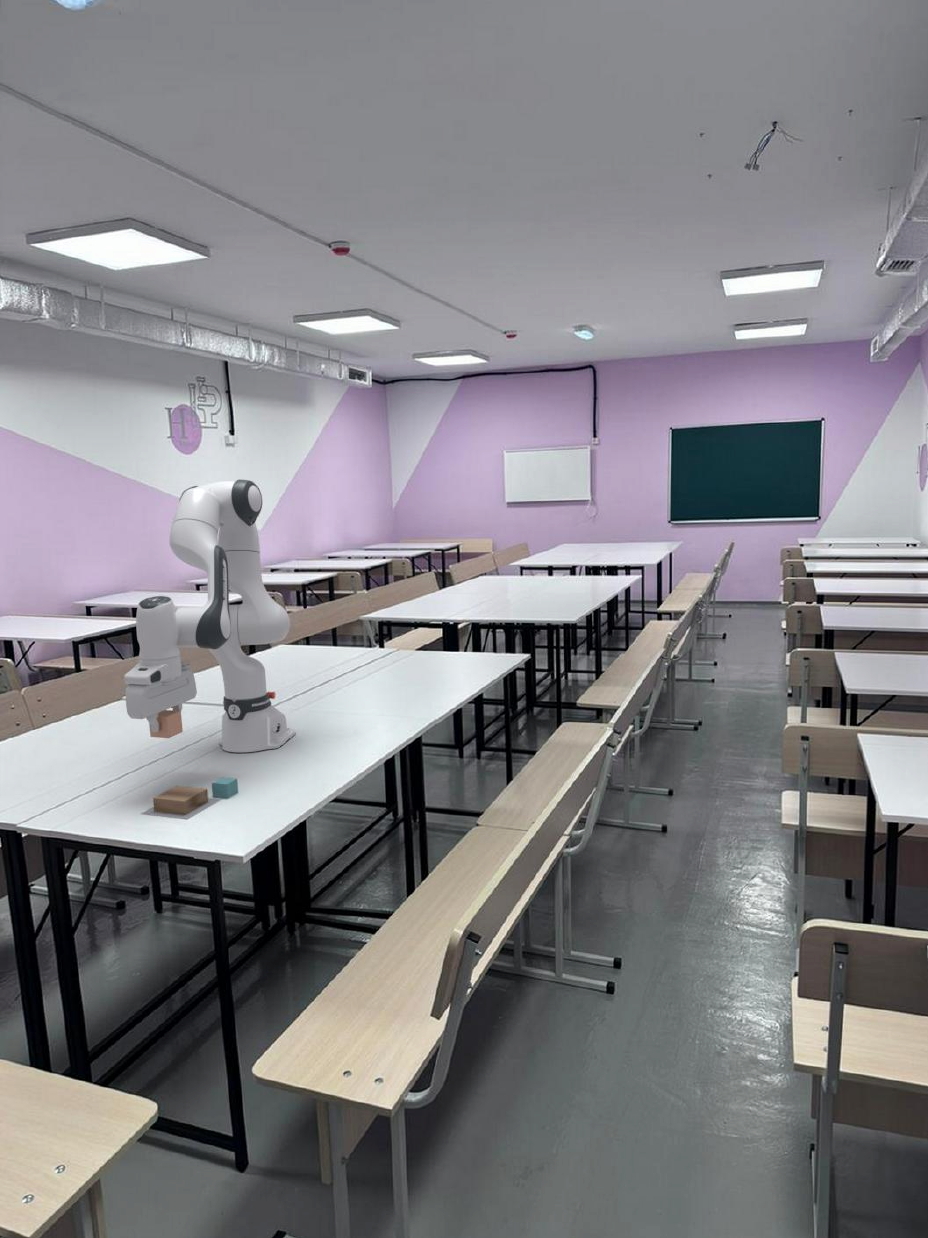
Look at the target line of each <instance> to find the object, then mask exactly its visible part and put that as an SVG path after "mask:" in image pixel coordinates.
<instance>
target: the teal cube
mask: <svg viewBox="0 0 928 1238" xmlns="http://www.w3.org/2000/svg"><path fill="white" fill-rule="evenodd" d="M238 784H239V783H238V778H236V777H235V778H234V777H225V776H222V777H220V778H218V779H216V780H214V781H212V782H211V790H212V791H211V792H212V793H211V794H212V798H216V799H230V798H231V797H233V796H235V795H236V794H238V793H239V787H238V786H239V785H238Z"/></svg>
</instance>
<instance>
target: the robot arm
mask: <svg viewBox="0 0 928 1238" xmlns="http://www.w3.org/2000/svg"><path fill="white" fill-rule="evenodd" d="M262 509H263V495H262V492H261V490H260V488H259V486H258V485H257V484H256V482H254V481H252V480H248V479H237V480H221V481H220V480H219V481H218V480H217V481H215V482H211V483H210V482H209V483H205V484H202V485H193V486H191V487H188V488H187V489H185V490H184V491H182V493H181V495H180V497H179V500H178V504H177V507H176V509H175V513H174V515H173V518H172V522H171V523H172V524H171V526H170V532H169V547H170V548H171V551H172V553H173V554H174V555H175V556H176V557H177V558H178V559H179V560H181V562H183V563H185V564H187V565H189V566H191V567H194V568H197V569H199V570H202V571H204V572H206V574H207V602H206V603H205V604H204V605H201V606H178V605H176V604H175V603H174V601H173V599H172V598H171V597H170V596H165V595H158V596H157V595H156V596H151V597H147V598H144V599H142V600H141V601H140V602H139V603H137V606H136V607H137V609H136V616H135V617H136V619H135V624H136V626H135V627H136V638H137V639H136V640H137V642H138V644H139V654H138V661H139V662H138V663H136V665H134V667H132V668H131V669H130V670H129V671H128V672H126V673H124V676H123V681H124V684H126V685H127V687H126V688H125V705H126V706H125V708H126V713H127V715H128V716H129V718H130V719H133V720H144V719H146V721H148V724H149V723H150V725H151V731H152V732H156V733H157V732H159V731H161V730H162V724H161V723H158V721H157V719H156V718H157V717H158V713H159V712H161V711H164V710H168V709H169V710H170V709H172V711H181V712H182V710H183V704H184V703H186V702H188V701H190V700H193V699H195V698H196V696H197V693H198V692H197V685H196V678H195V675H194V672H193V671H192V665H191V664H190V663H189V662H187V661H186V660H183V661H181V660H182V659H181V652H180V649H179V648H184V649H185V648H191V649H192V648H193V649H194V648H199V649H207V650H208V651H209V652H210V653H211V654H212V655H213V657H215V659H216V661H217V662H218V664H219V666H220V671H221V675H222V681H223V688H224V689H223V690H224V696H223V701H222V703H223V711H225V712H224V713H223V714H222V718H221V720H222V721H221V723H222V725H221V739H218V744H219V745H220V746H221V748H222V750H224V751H225V752H228V753H255V752H260V751H264V750H273V749H279V748H280V746H281V745H282V746H284V744H285V743H287V742H288V741H289V740H290V739H291V738H293V737H294V736H295V735H296V733H297V732H296V730H295V729H293V728H289V727H288V725H287V724H288V723H287V717H286V715H285V714H284V713H283V712H281V711H280V710H279V709H278V708H276V707H275V706H273V705H272V701H271V700H275V698H276V692H275V691H267V680H266V679H267V678H266V668H265V666H264V664H263V663H262V662H261V661H259V660H258V659H257V658H254V657H252V656H249V655H247V654H246V653H245V652H244V651H243V650H242V648H241V647H242V646H252V645H253V646H255V645H257V646H258V645H269V644H273V643H277V642H281V641H283V640H284V639H285V638H286V637H287V635H288V634H289V630H290V628H291V619H290V616H289V613H288V611H287V610H286V609H285V608H284V607H283V606H282V605H280V604H279V603H278V602H276V601H275V600H274V599H273V598H272V597H271V596H270V594H269V593H268V591H267V589H266V587H265V585H264V580H263V576H262V569H261V566H262V565H261V547H260V538H259V533H258V527H257V523H256V521H257V519H258V517H259V515H260V514H261V511H262ZM229 591H230V592H232V593H235V594H237V595H239V596H240V597H241V599H242V603H241V604H230V598H229V596H230V595H229V594H230V592H229ZM289 738H290V739H289ZM288 739H289V740H288ZM287 740H288V741H287ZM286 741H287V742H286ZM282 746H281V747H282Z"/></svg>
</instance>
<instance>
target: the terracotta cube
mask: <svg viewBox="0 0 928 1238" xmlns="http://www.w3.org/2000/svg"><path fill="white" fill-rule="evenodd" d="M172 710H173V709H172ZM172 710H170V709H169V710H168V709H166V710H164V711H161V712H159V713H158V717H157V718H156V719H157V721H158V723H161V724H162V730H161V731H159V732H157V733H156V732H152V731H151V725H150V723H149V722H148V725H149V726H148V727H149V734H150V737H151V738H158V739H159V738H160V739H161V738H162V739H171V738H172V737H176V736H177V735H180V734H182V733H183V732H184V731H183V730H184V729H183V719H182V710H181V711H172Z"/></svg>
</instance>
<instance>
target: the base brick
mask: <svg viewBox="0 0 928 1238" xmlns="http://www.w3.org/2000/svg"><path fill="white" fill-rule="evenodd" d="M208 792H209V791H208V788H203V787H191V786H184V785H176V786H174V787H172V788H169V789H168V790H166V791H164V792H162V793H161V794H158V795H156V796H154V797H152V801H153V807H154V812H163V813H172V814H181V815H186V814H188V813H190V812H191V811H193V810H195V809H197V808H198V807H200V806H202V805H204V804H205V803H207V802H208V798H209V794H208Z"/></svg>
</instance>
